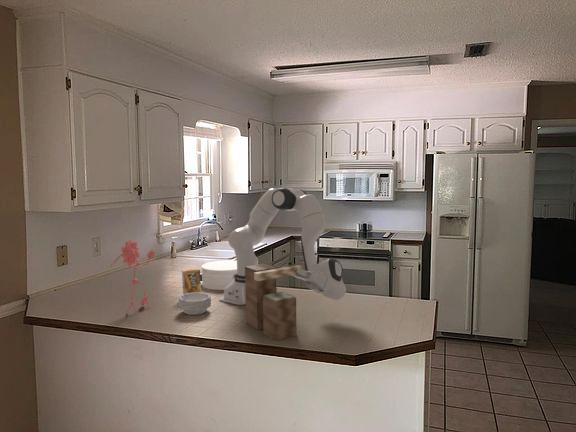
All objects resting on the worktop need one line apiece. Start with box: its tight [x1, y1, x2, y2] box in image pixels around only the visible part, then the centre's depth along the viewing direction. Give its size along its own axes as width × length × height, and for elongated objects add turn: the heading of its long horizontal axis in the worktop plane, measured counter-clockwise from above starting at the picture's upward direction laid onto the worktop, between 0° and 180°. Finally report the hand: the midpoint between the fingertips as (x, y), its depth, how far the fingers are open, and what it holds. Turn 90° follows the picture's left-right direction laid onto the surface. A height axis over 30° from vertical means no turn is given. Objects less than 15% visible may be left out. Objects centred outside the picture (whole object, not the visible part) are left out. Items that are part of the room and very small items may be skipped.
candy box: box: [181, 268, 202, 295], centre depth 252 cm, size 9×4×15 cm, turn 119°
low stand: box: [263, 291, 298, 341], centre depth 197 cm, size 10×10×17 cm
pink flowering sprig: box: [110, 239, 160, 315], centre depth 232 cm, size 15×26×35 cm, turn 157°
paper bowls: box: [178, 292, 212, 316], centre depth 229 cm, size 15×15×8 cm
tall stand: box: [245, 263, 277, 331], centre depth 209 cm, size 10×10×26 cm
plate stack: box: [201, 259, 237, 291], centre depth 282 cm, size 28×28×12 cm
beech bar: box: [254, 264, 304, 281], centre depth 195 cm, size 22×3×3 cm, turn 124°
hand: (293, 269), depth 199 cm, fingers closed on beech bar, 3 cm apart
